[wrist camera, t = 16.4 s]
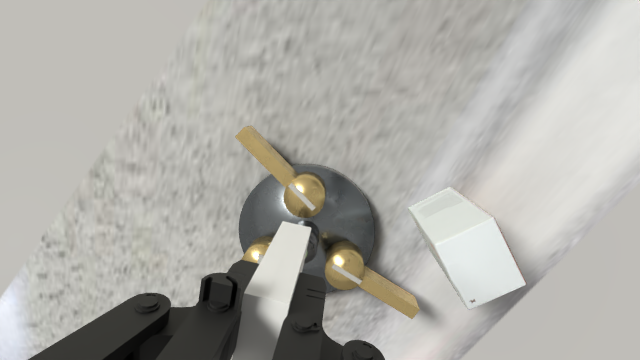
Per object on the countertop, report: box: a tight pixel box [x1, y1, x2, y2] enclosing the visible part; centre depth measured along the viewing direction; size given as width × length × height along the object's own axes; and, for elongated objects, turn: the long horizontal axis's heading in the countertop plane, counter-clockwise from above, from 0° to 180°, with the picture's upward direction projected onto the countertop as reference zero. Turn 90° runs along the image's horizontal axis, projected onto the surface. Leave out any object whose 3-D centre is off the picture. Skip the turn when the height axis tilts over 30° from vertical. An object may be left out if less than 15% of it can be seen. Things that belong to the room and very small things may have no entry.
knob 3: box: [325, 241, 420, 319], centre depth 43 cm, size 13×5×4 cm, turn 58°
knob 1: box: [242, 236, 273, 264], centre depth 44 cm, size 13×5×4 cm, turn 171°
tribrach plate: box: [239, 164, 375, 293], centre depth 42 cm, size 18×18×9 cm
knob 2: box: [235, 126, 326, 218], centre depth 41 cm, size 13×5×4 cm, turn 44°
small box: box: [408, 187, 526, 310], centre depth 39 cm, size 8×6×13 cm
